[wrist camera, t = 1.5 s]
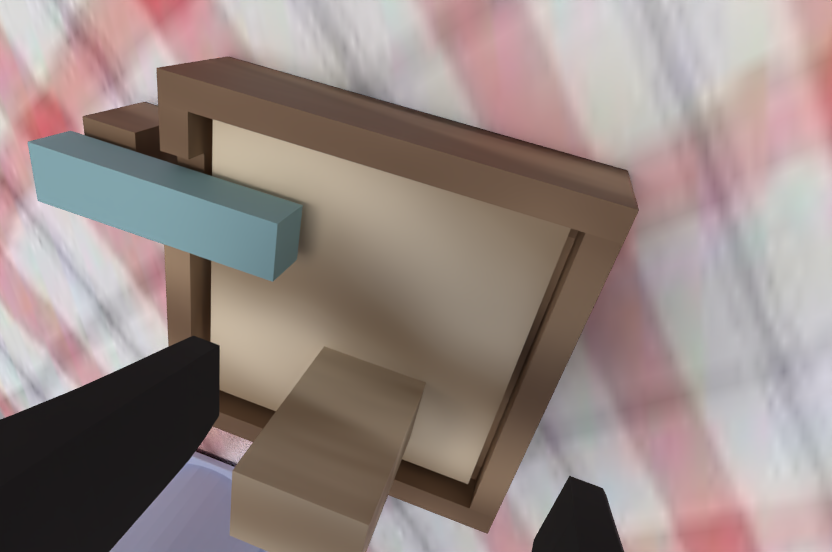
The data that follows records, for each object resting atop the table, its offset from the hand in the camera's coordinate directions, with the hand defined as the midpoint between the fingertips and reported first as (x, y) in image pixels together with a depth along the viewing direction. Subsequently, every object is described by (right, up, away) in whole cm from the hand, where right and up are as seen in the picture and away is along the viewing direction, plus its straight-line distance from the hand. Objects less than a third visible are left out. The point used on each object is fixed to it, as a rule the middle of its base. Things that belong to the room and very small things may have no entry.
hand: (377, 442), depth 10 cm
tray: (-2, +3, +11) cm, 12 cm away
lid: (-1, +2, +9) cm, 9 cm away
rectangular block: (-7, +6, +7) cm, 12 cm away
